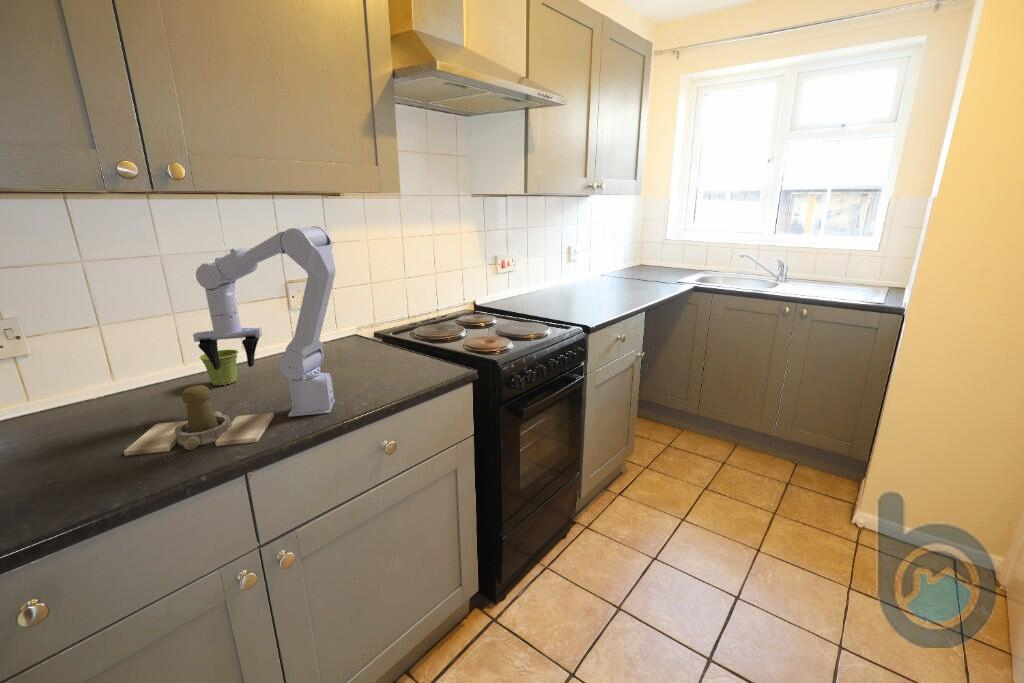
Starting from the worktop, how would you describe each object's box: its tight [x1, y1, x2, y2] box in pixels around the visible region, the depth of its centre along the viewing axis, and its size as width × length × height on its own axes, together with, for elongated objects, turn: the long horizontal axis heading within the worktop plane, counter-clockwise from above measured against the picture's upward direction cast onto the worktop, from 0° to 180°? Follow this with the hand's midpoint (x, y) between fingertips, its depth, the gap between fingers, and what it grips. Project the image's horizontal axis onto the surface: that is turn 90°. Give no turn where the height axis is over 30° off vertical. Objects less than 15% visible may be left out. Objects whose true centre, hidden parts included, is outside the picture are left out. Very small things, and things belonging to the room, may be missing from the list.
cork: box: [181, 384, 219, 433], centre depth 105 cm, size 6×6×11 cm
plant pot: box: [199, 349, 239, 386], centre depth 136 cm, size 9×9×9 cm
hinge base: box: [123, 411, 275, 457], centre depth 105 cm, size 25×14×2 cm, turn 101°
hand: (234, 367), depth 118 cm, fingers open, 7 cm apart
